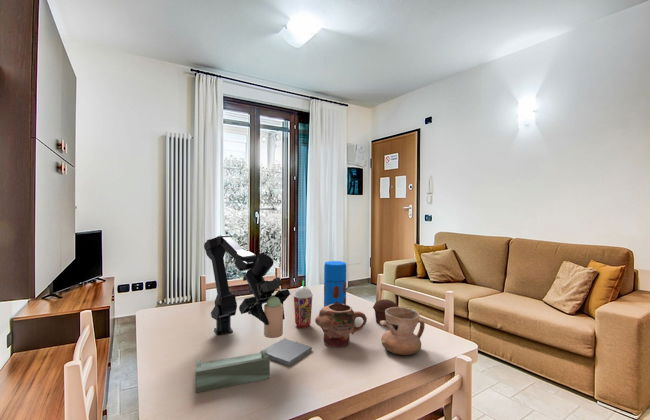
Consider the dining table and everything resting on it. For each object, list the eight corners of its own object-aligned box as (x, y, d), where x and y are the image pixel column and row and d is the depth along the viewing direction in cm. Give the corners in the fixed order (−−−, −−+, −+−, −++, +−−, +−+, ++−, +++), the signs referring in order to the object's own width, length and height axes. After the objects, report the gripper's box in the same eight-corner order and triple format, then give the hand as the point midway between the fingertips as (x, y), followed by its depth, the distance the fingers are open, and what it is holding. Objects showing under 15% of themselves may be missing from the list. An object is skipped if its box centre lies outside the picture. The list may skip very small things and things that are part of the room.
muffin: (397, 318, 148) (397, 297, 148) (400, 327, 137) (400, 304, 137) (371, 317, 150) (372, 296, 149) (373, 326, 139) (373, 303, 138)
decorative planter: (362, 334, 130) (362, 301, 129) (369, 348, 118) (370, 311, 117) (313, 336, 127) (314, 302, 127) (316, 350, 115) (316, 313, 115)
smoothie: (309, 330, 134) (310, 283, 133) (290, 328, 136) (291, 282, 135) (314, 322, 142) (314, 278, 142) (296, 321, 144) (296, 277, 143)
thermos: (349, 312, 155) (350, 262, 155) (339, 319, 146) (339, 266, 146) (331, 308, 161) (331, 260, 161) (319, 314, 152) (319, 263, 152)
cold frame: (196, 369, 101) (196, 351, 101) (261, 358, 109) (261, 341, 109) (196, 392, 89) (196, 372, 89) (269, 378, 97) (269, 358, 97)
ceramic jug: (387, 361, 108) (388, 320, 107) (371, 342, 122) (373, 306, 121) (434, 357, 112) (436, 318, 111) (414, 339, 126) (415, 304, 125)
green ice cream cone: (260, 334, 108) (260, 297, 107) (273, 328, 113) (273, 293, 113) (273, 339, 104) (273, 301, 104) (286, 333, 109) (287, 296, 109)
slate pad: (260, 355, 111) (260, 351, 111) (284, 342, 122) (284, 338, 122) (288, 366, 104) (288, 361, 104) (311, 350, 115) (311, 346, 115)
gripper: (244, 275, 104) (263, 316, 97) (287, 266, 117) (307, 303, 110) (231, 293, 109) (248, 334, 102) (274, 283, 123) (292, 319, 116)
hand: (276, 321), depth 108 cm, fingers closed on green ice cream cone, 6 cm apart
